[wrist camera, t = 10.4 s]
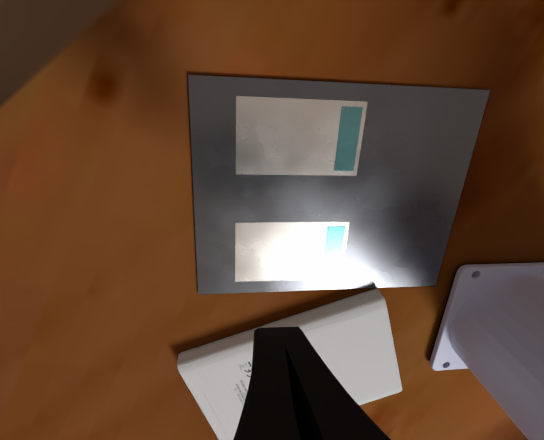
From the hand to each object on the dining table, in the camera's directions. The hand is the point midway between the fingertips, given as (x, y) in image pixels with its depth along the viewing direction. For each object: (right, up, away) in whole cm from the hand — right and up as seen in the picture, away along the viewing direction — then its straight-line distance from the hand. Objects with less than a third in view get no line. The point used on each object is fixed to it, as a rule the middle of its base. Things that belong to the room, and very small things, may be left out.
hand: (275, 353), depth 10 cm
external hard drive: (+1, -5, +12) cm, 13 cm away
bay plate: (+3, +5, +7) cm, 9 cm away
